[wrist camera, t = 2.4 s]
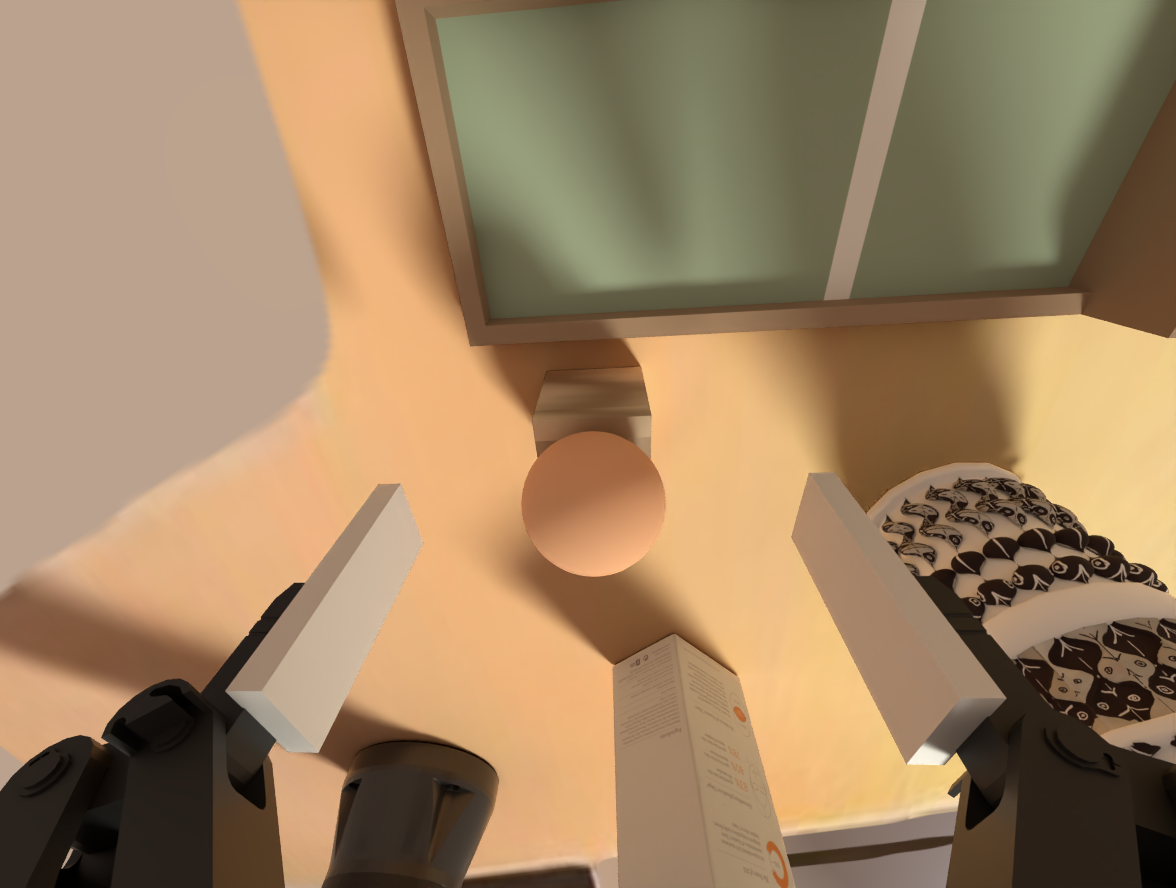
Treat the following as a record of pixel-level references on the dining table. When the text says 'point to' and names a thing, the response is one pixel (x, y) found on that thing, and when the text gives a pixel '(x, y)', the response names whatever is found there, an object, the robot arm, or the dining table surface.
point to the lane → (798, 162)
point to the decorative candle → (1046, 597)
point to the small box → (690, 777)
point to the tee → (593, 406)
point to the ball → (593, 503)
